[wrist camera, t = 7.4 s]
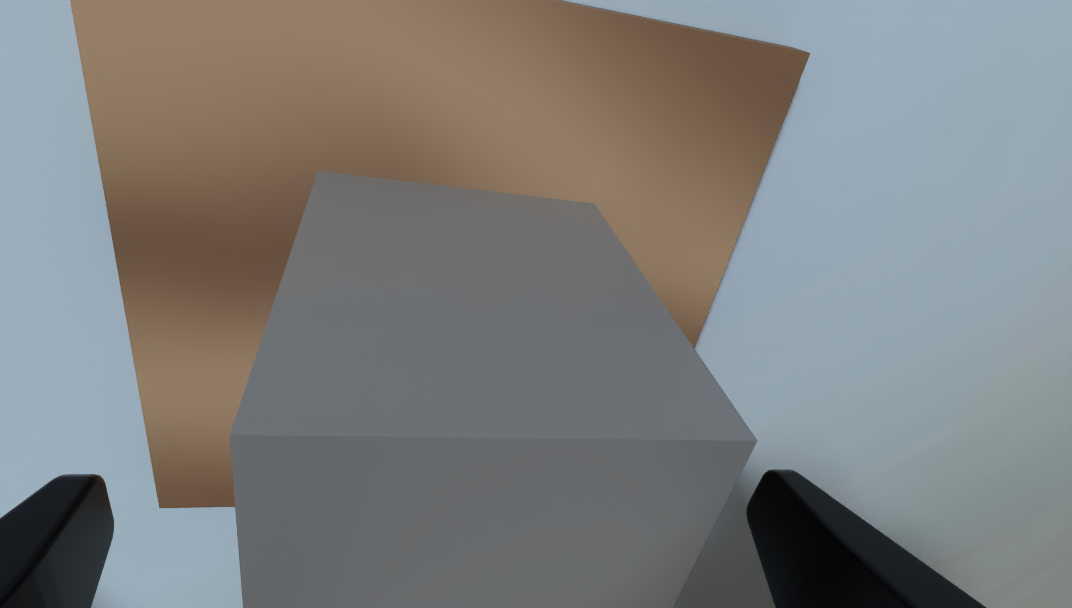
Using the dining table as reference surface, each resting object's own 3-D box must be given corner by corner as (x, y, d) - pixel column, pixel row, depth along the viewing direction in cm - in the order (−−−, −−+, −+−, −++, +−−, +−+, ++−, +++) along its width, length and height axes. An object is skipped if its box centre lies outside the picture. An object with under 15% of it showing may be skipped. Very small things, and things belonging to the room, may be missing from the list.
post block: (628, 482, 18) (709, 683, 13) (167, 488, 15) (58, 754, 10) (792, 47, 12) (1051, 130, 7) (72, -100, 9) (-314, -124, 4)
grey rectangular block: (542, 404, 15) (628, 694, 9) (314, 397, 13) (252, 735, 8) (594, 203, 12) (757, 441, 7) (317, 170, 11) (229, 435, 5)
